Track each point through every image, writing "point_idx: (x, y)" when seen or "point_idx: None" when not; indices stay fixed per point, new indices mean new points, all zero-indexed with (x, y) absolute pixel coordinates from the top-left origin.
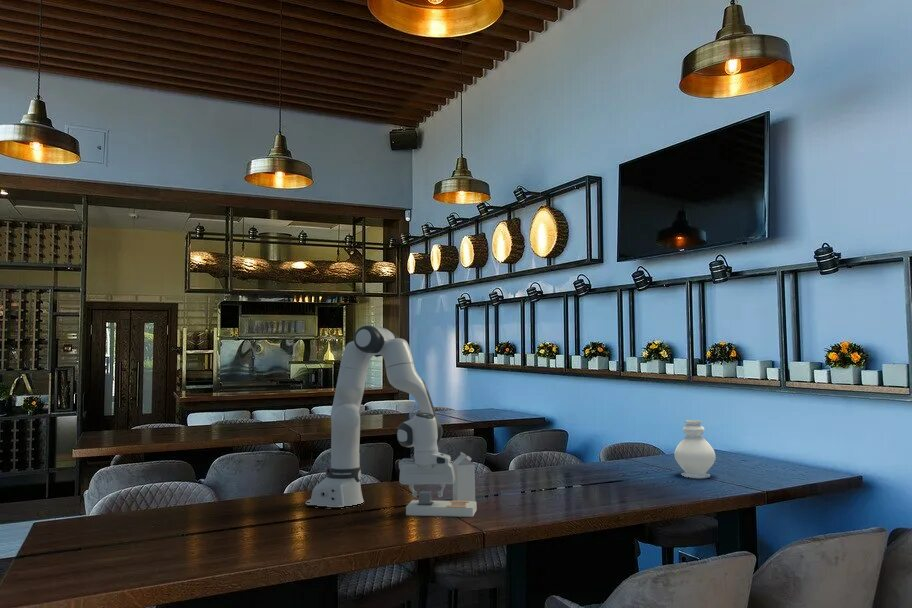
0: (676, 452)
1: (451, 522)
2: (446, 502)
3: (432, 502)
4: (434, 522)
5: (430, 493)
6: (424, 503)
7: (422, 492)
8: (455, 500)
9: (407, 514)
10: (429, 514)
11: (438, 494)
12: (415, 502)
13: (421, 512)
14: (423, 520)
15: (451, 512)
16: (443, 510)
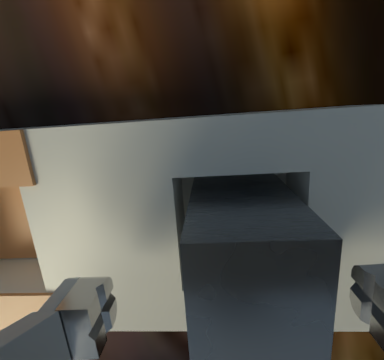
0: None
1: (9, 39)
2: None
3: None
4: (118, 14)
5: (184, 287)
6: (239, 196)
7: (295, 293)
8: None
9: (352, 105)
10: (179, 117)
11: (93, 288)
12: None
13: (242, 113)
14: (210, 57)
15: (11, 129)
16: (61, 126)
